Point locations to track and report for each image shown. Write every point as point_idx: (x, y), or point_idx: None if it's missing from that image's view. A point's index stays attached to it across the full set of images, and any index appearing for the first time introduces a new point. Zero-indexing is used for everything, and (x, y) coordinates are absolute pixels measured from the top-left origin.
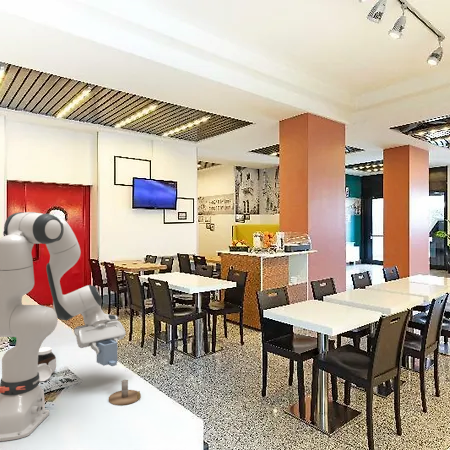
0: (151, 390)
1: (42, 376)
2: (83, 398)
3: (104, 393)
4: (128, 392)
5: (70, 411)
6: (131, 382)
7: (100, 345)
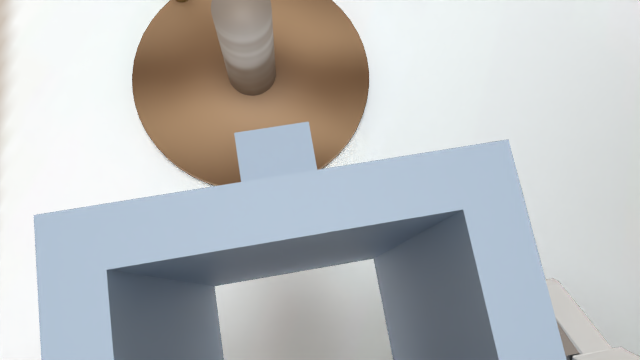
0: (32, 77)
1: None
2: None
3: None
4: (200, 119)
5: (620, 110)
6: None
7: (546, 350)
